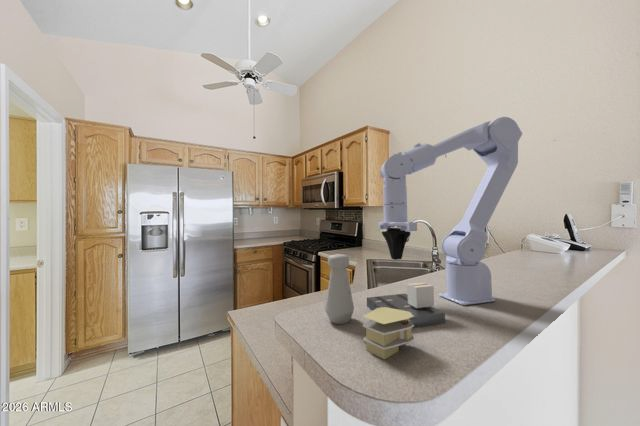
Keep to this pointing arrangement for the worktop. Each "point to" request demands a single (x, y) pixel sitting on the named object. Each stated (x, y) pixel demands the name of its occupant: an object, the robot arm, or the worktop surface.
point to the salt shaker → (339, 291)
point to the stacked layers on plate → (387, 331)
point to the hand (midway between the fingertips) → (396, 259)
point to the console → (408, 309)
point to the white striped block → (420, 295)
